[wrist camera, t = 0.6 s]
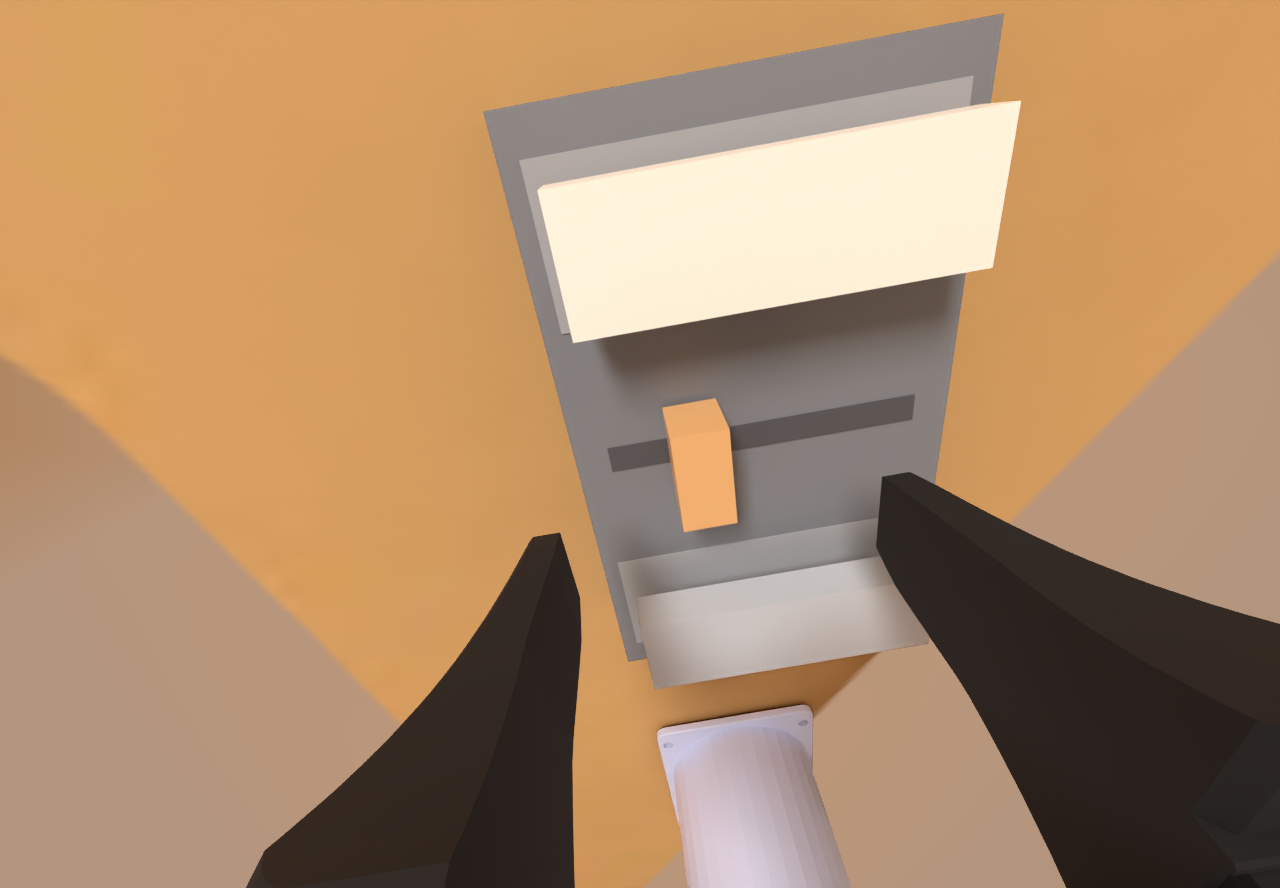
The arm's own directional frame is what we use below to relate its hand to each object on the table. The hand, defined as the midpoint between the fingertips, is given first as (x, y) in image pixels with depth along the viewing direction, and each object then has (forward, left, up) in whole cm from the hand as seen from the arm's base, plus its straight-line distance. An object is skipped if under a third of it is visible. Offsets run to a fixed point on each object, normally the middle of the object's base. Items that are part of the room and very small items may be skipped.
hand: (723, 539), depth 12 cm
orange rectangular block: (0, 0, -4) cm, 4 cm away
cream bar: (+6, -2, -3) cm, 7 cm away
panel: (0, -2, -7) cm, 8 cm away
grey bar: (-6, -2, -3) cm, 7 cm away
